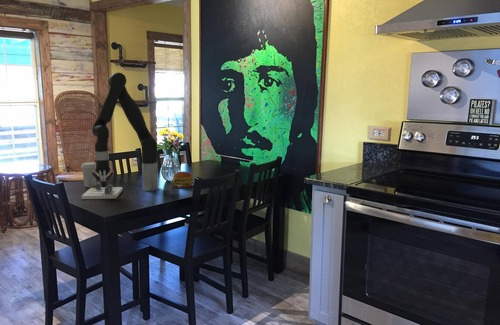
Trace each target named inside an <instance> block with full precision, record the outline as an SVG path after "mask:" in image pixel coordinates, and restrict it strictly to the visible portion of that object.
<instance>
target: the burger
mask: <svg viewBox="0 0 500 325" xmlns="http://www.w3.org/2000/svg"><path fill="white" fill-rule="evenodd" d="M193 177H194V176H193V174H192V173H190V172H188V171H178V172H176V173H175V174H173V175H172V185H173V186H174V187H175V188H177V189H186V188H191V187H192V186H193V185H194V178H193Z"/></svg>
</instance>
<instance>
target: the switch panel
mask: <svg viewBox="0 0 500 325" xmlns="http://www.w3.org/2000/svg"><path fill="white" fill-rule="evenodd" d="M106 187H107V186H106ZM106 187H105V188H106ZM105 188H103V187H102V186H101V189H96V187H89V188H88V190H86V191H85V192H84V193H83V194H82V195H81V199H82V200H100V199H101V200H104V199H105V200H106V199H111V200H112V199H117V198H119V195H120V194H121V193H122V192H123V187H122V186H116V187H115V186H114V187H113V186H112V188H113V190H112V191H110V193H109V194H105Z"/></svg>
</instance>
